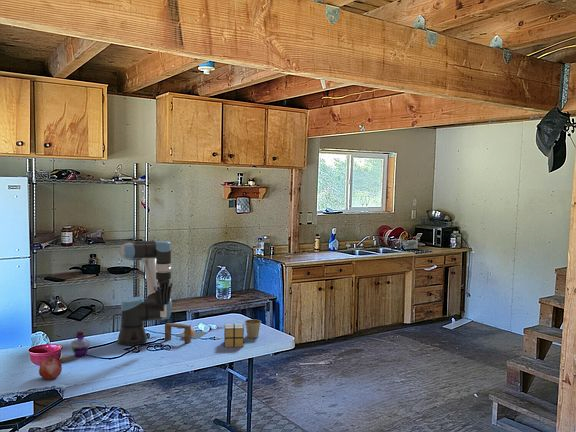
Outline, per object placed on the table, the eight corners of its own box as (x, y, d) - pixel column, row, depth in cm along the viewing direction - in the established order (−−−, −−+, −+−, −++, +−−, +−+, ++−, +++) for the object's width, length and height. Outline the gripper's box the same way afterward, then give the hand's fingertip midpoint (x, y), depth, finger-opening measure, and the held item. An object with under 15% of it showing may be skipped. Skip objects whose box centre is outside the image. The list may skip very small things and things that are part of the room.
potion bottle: (67, 356, 247) (66, 332, 246) (80, 351, 255) (80, 328, 254) (80, 359, 244) (80, 334, 243) (93, 354, 252) (93, 330, 251)
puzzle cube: (224, 341, 275) (224, 323, 275) (243, 341, 277) (243, 323, 276) (224, 347, 266) (224, 328, 265) (243, 347, 267) (243, 328, 266)
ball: (186, 324, 285) (188, 332, 287) (180, 330, 280) (183, 338, 283) (194, 326, 282) (196, 333, 285) (188, 332, 278) (191, 340, 280)
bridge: (187, 343, 271) (187, 326, 270) (164, 340, 276) (164, 323, 275) (190, 342, 273) (190, 325, 273) (168, 339, 279) (168, 322, 278)
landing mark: (175, 336, 284) (175, 335, 284) (188, 330, 296) (188, 330, 296) (195, 339, 279) (195, 338, 279) (207, 333, 291) (207, 332, 291)
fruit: (49, 373, 226) (48, 350, 225) (66, 375, 223) (66, 353, 222) (33, 380, 217) (32, 357, 216) (51, 383, 214) (51, 359, 214)
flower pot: (260, 339, 281) (260, 323, 280) (243, 338, 281) (243, 323, 281) (261, 334, 290) (261, 319, 290) (245, 334, 290) (245, 319, 290)
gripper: (162, 273, 253) (161, 320, 254) (176, 270, 265) (176, 314, 266) (149, 272, 256) (149, 319, 257) (164, 269, 268) (164, 313, 269)
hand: (163, 316), depth 262 cm, fingers closed
